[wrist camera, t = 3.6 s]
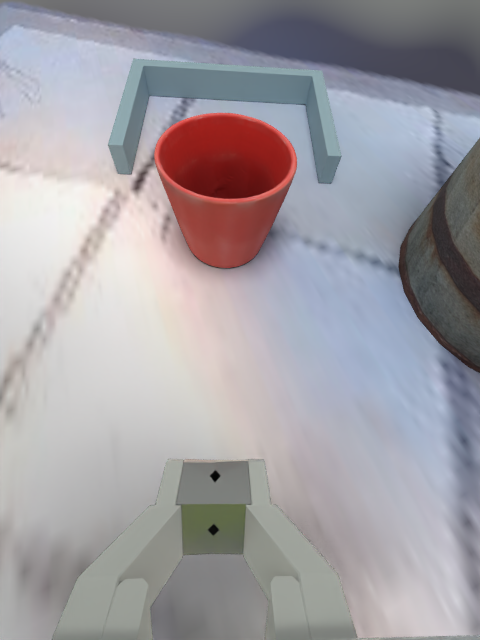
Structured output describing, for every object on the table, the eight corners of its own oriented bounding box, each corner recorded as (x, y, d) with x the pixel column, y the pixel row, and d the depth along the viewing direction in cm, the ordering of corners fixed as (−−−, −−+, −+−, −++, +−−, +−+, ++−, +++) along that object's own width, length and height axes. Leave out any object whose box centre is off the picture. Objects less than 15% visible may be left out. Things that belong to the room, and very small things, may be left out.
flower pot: (210, 187, 35) (207, 94, 27) (294, 230, 33) (320, 143, 24) (150, 247, 31) (122, 159, 22) (242, 300, 29) (250, 226, 20)
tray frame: (118, 173, 35) (107, 144, 32) (139, 88, 43) (133, 58, 40) (331, 183, 37) (341, 156, 33) (314, 99, 44) (322, 70, 41)
